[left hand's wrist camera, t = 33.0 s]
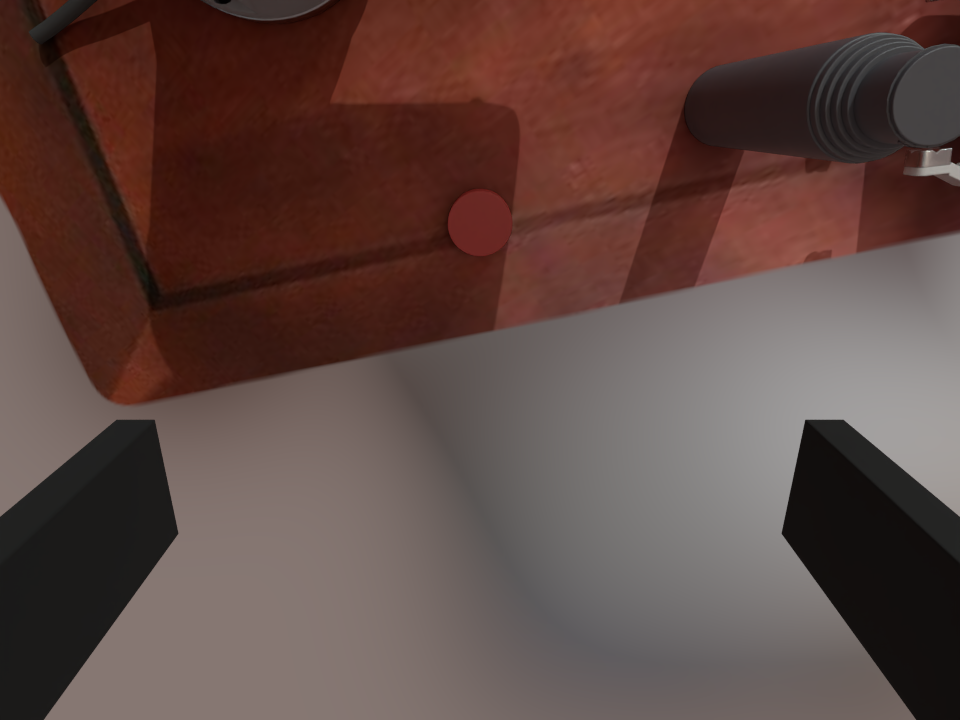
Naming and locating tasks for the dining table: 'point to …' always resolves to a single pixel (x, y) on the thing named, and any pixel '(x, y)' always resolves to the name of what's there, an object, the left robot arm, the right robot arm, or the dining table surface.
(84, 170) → the dining table surface
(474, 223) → the cap
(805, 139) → the bottle
